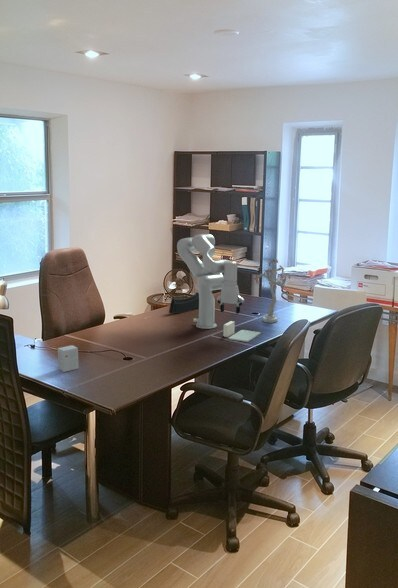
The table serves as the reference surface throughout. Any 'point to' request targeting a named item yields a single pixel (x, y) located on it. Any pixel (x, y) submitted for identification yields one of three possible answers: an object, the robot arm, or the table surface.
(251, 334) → the mat
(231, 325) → the cream rectangular block
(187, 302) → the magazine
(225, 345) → the table surface
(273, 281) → the grey tall branched form
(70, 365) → the small box
